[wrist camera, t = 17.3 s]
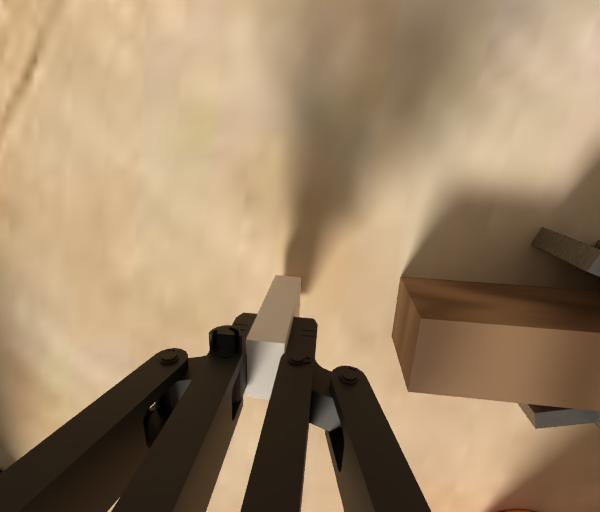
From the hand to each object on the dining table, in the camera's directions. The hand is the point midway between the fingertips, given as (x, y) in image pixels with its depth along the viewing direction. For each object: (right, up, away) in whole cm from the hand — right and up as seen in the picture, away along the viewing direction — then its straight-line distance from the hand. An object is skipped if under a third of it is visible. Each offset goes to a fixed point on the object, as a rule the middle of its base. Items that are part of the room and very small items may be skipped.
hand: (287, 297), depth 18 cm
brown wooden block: (+14, -1, 0) cm, 14 cm away
